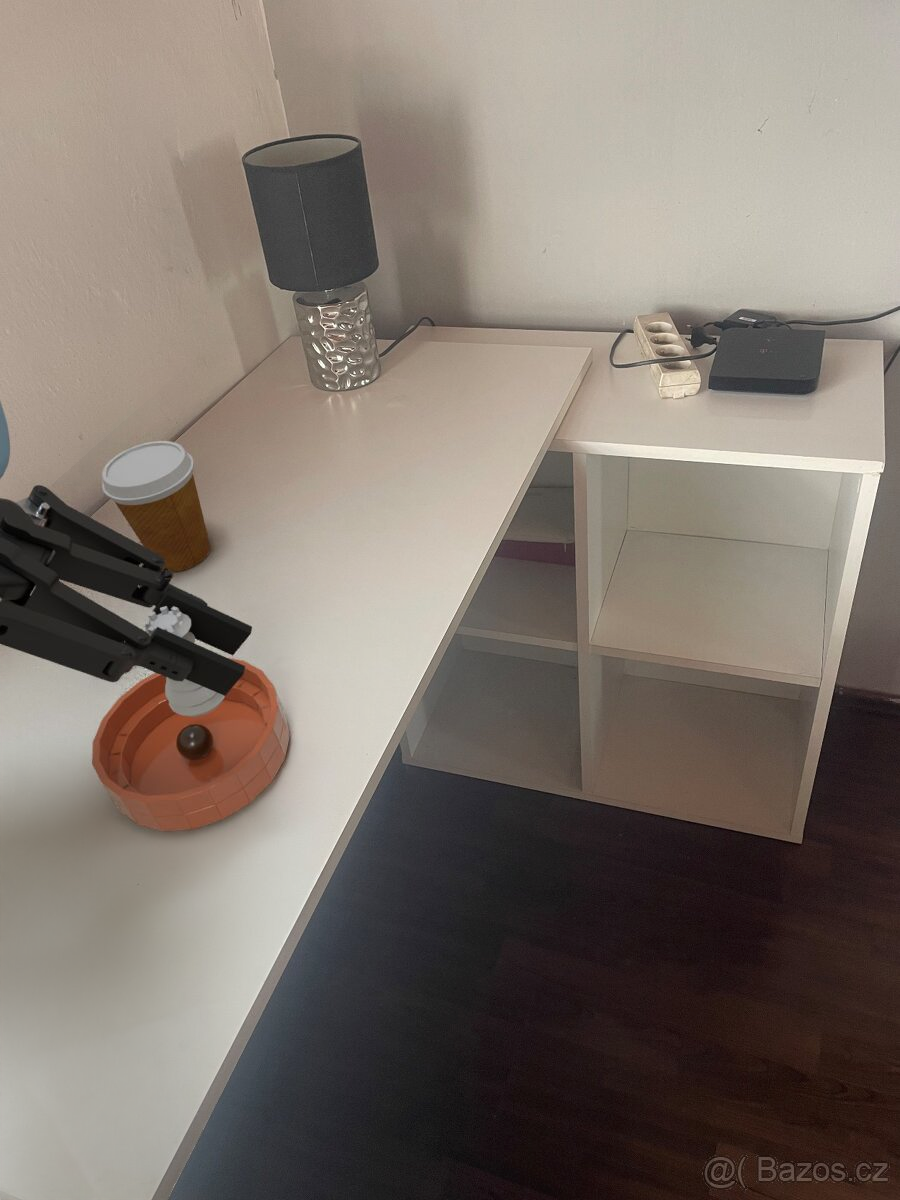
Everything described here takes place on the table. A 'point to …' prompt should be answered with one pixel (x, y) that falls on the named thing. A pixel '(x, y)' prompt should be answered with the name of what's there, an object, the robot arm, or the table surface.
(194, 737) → the bead
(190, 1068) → the table surface
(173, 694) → the rook chess piece
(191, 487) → the disposable coffee cup
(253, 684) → the bowl
